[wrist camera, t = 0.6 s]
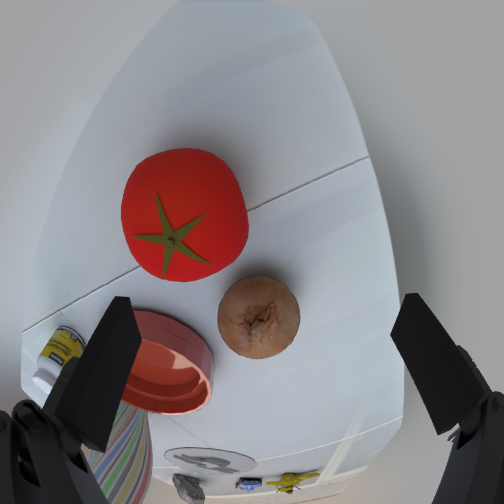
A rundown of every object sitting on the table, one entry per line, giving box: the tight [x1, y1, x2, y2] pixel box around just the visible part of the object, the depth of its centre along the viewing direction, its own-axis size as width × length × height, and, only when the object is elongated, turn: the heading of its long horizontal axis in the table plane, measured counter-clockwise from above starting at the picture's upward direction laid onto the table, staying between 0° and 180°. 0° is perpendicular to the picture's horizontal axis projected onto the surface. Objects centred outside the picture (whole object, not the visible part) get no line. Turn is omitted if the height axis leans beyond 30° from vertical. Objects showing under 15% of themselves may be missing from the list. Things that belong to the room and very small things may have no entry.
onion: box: [218, 276, 300, 359], centre depth 31 cm, size 10×9×10 cm
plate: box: [165, 448, 256, 475], centre depth 64 cm, size 28×28×1 cm
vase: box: [88, 401, 153, 504], centre depth 34 cm, size 14×14×30 cm
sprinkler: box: [266, 473, 320, 494], centre depth 72 cm, size 19×8×20 cm
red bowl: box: [121, 310, 215, 415], centre depth 37 cm, size 19×19×6 cm
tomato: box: [121, 148, 249, 282], centre depth 24 cm, size 11×12×10 cm
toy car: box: [236, 478, 262, 492], centre depth 74 cm, size 8×15×5 cm, turn 166°
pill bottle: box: [33, 327, 85, 394], centre depth 34 cm, size 6×6×12 cm
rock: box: [172, 475, 205, 504], centre depth 71 cm, size 16×10×15 cm, turn 170°
